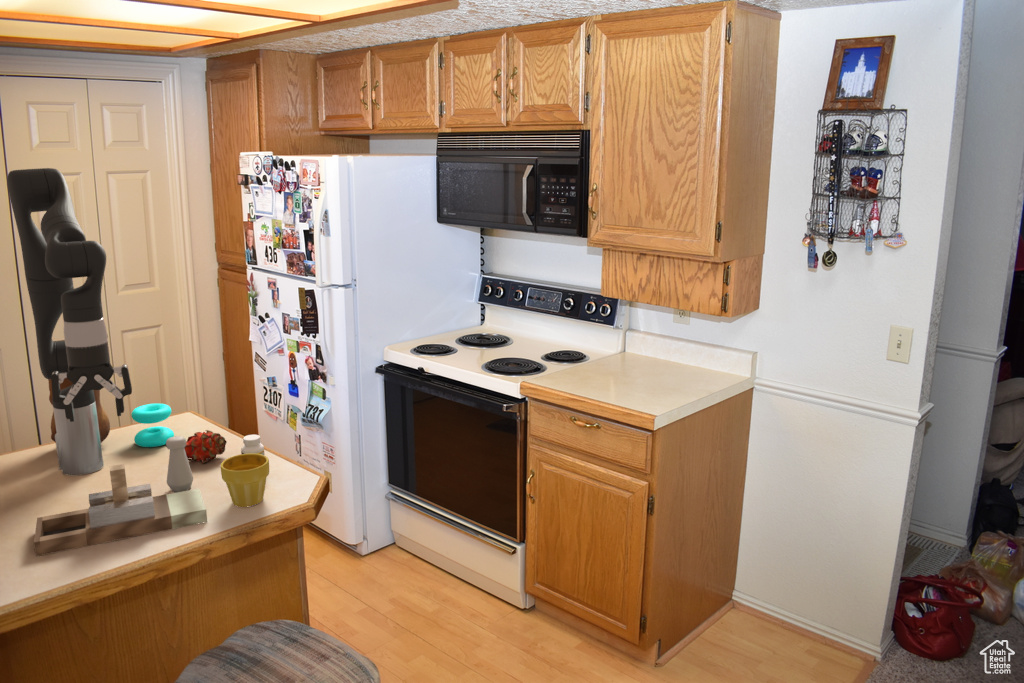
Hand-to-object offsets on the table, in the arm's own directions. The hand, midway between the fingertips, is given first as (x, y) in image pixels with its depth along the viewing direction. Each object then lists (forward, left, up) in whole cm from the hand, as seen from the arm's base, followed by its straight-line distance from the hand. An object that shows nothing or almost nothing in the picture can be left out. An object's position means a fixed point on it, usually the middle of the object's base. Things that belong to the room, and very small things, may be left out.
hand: (96, 417), depth 161 cm
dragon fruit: (-9, +37, -25) cm, 45 cm away
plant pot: (+18, +22, -25) cm, 38 cm away
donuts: (-31, +42, -25) cm, 57 cm away
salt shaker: (-1, +21, -25) cm, 32 cm away
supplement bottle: (+9, +35, -25) cm, 44 cm away
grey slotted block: (+2, +2, -22) cm, 22 cm away
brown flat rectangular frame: (+2, +2, -25) cm, 25 cm away
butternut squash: (-45, +31, -25) cm, 60 cm away
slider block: (+2, +2, -22) cm, 22 cm away
